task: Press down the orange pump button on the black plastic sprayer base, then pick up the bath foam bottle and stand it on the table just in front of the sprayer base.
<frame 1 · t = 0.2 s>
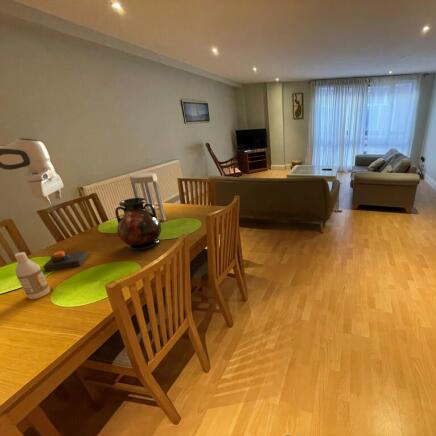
hand: (54, 201, 120), 32 cm above the table, tool pointing down, fingers open, 8 cm apart
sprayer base: (68, 263, 125), on the table
amphora vase: (144, 245, 143), on the table
bath foam: (40, 294, 103), on the table
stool: (154, 222, 176), on the table
button: (59, 254, 122), point 6 cm above the table, slide at 0.1 cm
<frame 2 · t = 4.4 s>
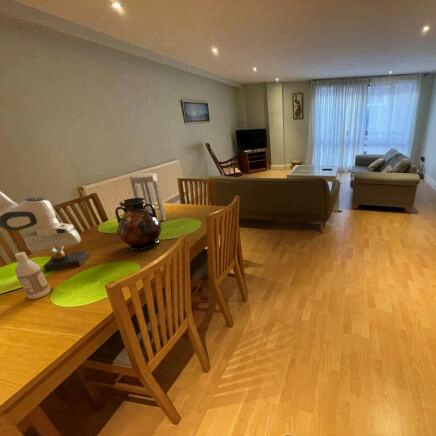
hand: (59, 254, 122), 6 cm above the table, tool pointing down, fingers closed, pressing on button
button: (60, 255, 123), point 5 cm above the table, slide at -0.7 cm, touching gripper
everything else where it was.
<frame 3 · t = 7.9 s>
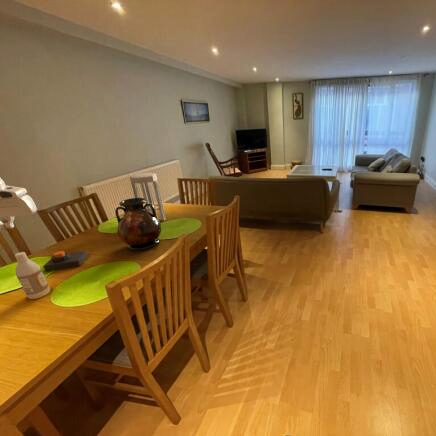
hand: (7, 228, 91), 31 cm above the table, tool pointing down, fingers closed
button: (59, 254, 122), point 6 cm above the table, slide at 0.1 cm
everything else where it was.
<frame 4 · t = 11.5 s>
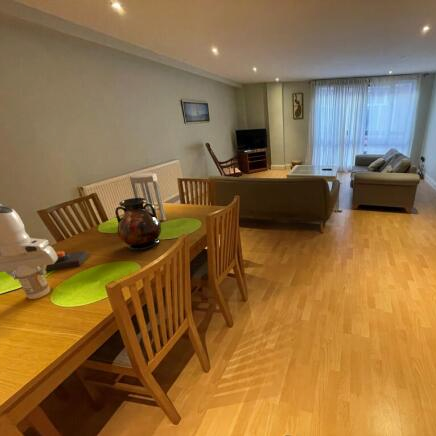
hand: (31, 276, 99), 9 cm above the table, tool pointing down, fingers closed on bath foam, 7 cm apart
bath foam: (39, 294, 103), on the table, touching gripper
everything else where it was.
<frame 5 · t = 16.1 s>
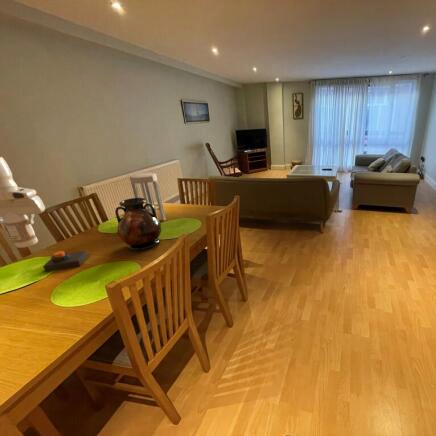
hand: (18, 225, 102), 28 cm above the table, tool pointing down, fingers closed on bath foam, 7 cm apart
bath foam: (27, 244, 106), point 18 cm above the table, touching gripper
everything else where it was.
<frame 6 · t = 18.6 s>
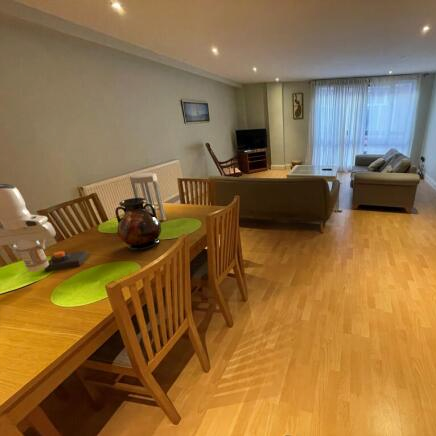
hand: (31, 250, 107), 15 cm above the table, tool pointing down, fingers closed on bath foam, 7 cm apart
bath foam: (39, 268, 110), point 6 cm above the table, touching gripper
everything else where it was.
when the fingers open (9 cm above the table, at t = 20.7 s): bath foam stays where it is, on the table.
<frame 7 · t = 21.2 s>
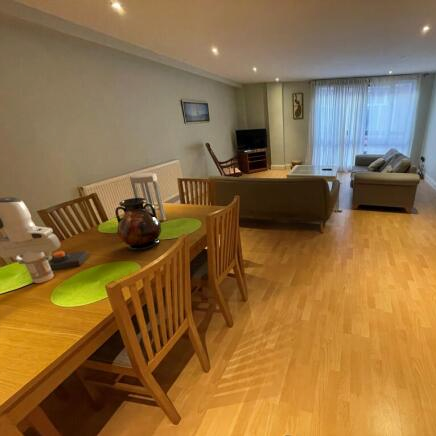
hand: (36, 261, 109), 10 cm above the table, tool pointing down, fingers open, 8 cm apart
bath foam: (44, 279, 113), on the table
everything else where it was.
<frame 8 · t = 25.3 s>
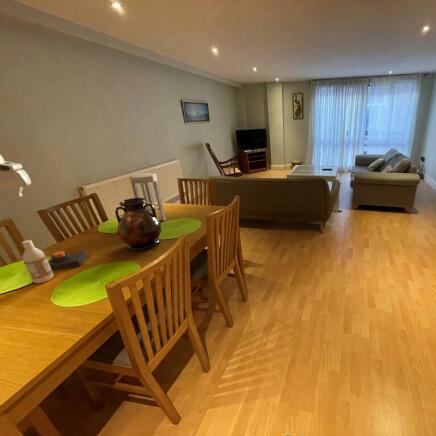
hand: (5, 197, 107), 37 cm above the table, tool pointing down, fingers open, 8 cm apart
nothing on the table moved.
at the end: button pushed in 1.0 cm at the most during the clip, back to where it started at the end; bath foam inside the target area on the table beside the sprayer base (0.2 cm from its centre), on the table; bath foam tilted 0° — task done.
